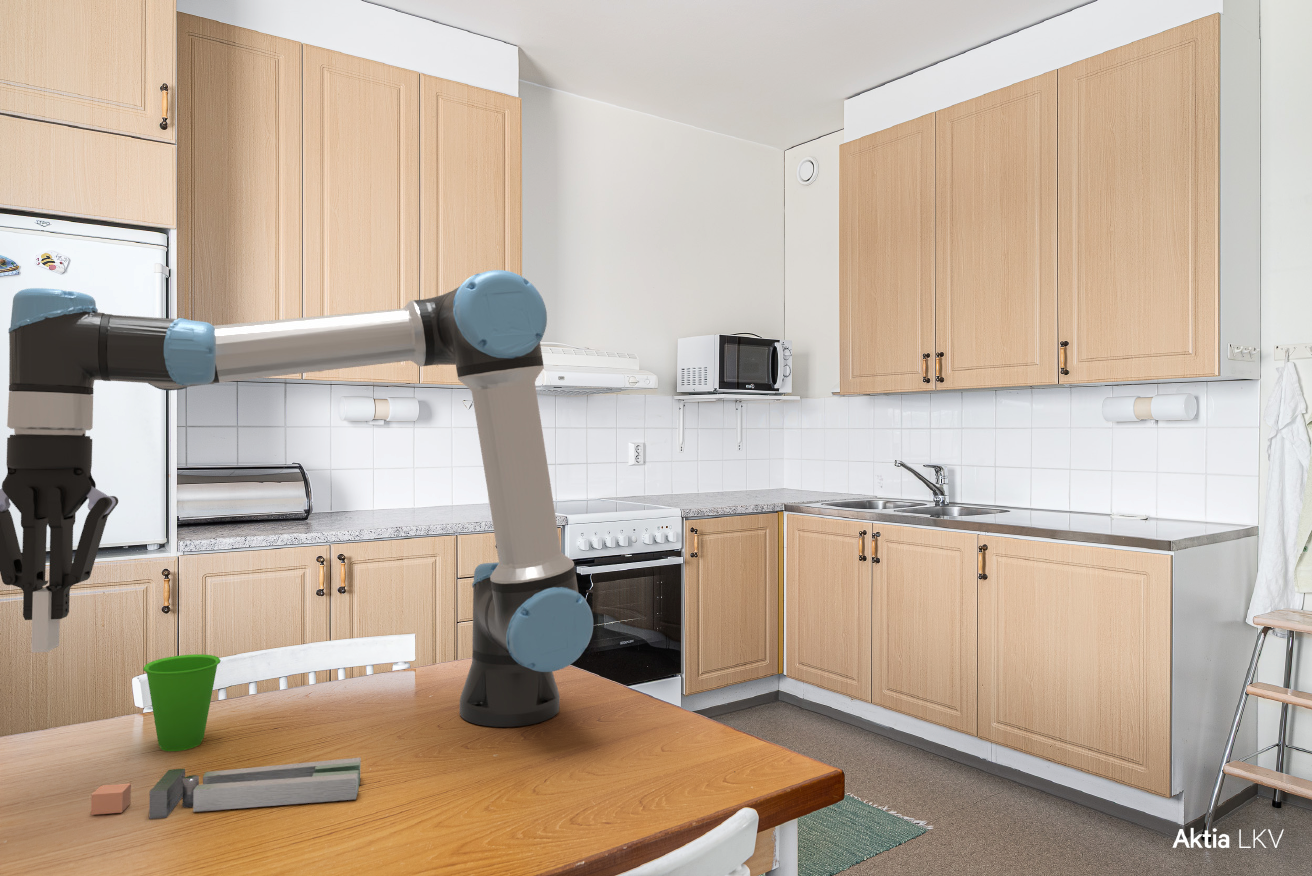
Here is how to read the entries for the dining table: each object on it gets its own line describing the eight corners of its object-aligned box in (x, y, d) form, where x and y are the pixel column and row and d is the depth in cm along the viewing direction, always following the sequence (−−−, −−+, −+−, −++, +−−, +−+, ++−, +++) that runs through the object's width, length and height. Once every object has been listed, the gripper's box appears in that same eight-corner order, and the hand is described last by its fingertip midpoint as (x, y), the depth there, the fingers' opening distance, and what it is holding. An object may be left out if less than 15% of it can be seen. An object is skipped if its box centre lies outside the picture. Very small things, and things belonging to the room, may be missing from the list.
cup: (185, 760, 106) (186, 674, 106) (124, 753, 108) (126, 669, 108) (234, 735, 115) (235, 656, 115) (177, 730, 117) (179, 652, 117)
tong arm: (360, 777, 101) (360, 757, 101) (359, 784, 99) (359, 764, 99) (205, 792, 96) (205, 771, 96) (200, 801, 94) (201, 780, 94)
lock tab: (130, 802, 93) (130, 783, 93) (121, 812, 91) (122, 792, 91) (100, 805, 92) (100, 785, 92) (91, 814, 90) (91, 794, 90)
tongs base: (361, 781, 100) (361, 756, 100) (355, 802, 95) (355, 776, 95) (168, 795, 96) (168, 769, 96) (149, 818, 90) (149, 791, 90)
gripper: (131, 434, 95) (125, 639, 95) (0, 431, 92) (-5, 642, 92) (103, 434, 88) (97, 655, 88) (-39, 431, 85) (-45, 660, 85)
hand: (45, 648), depth 90 cm, fingers closed
